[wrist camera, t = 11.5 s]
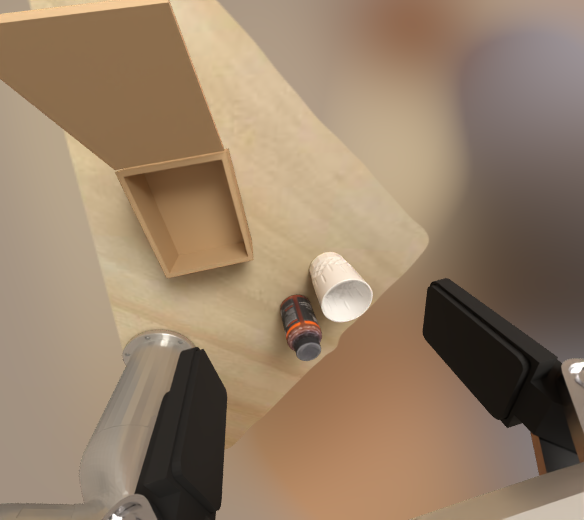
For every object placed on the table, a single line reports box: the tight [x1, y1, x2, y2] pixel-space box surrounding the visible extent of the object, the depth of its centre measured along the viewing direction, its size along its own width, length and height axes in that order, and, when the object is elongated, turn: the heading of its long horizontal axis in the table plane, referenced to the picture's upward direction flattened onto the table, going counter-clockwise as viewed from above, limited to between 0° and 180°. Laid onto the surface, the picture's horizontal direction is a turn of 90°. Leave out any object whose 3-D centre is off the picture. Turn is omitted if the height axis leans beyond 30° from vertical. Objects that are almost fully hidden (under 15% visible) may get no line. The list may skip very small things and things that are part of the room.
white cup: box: [309, 252, 373, 322], centre depth 40 cm, size 8×8×10 cm
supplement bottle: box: [280, 295, 322, 361], centre depth 42 cm, size 6×6×11 cm
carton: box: [115, 149, 254, 278], centre depth 33 cm, size 14×12×6 cm
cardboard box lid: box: [0, 0, 224, 170], centre depth 20 cm, size 14×12×1 cm
